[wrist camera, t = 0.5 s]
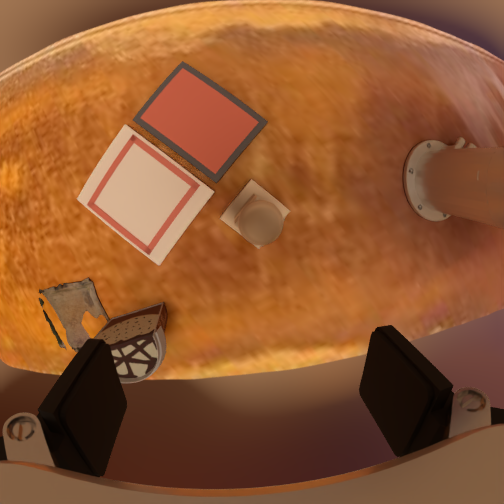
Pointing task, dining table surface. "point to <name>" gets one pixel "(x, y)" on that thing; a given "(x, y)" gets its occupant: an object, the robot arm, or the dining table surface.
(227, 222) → the stamp
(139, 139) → the marked board
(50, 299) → the parchment
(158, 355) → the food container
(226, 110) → the ink pad
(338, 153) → the dining table surface
